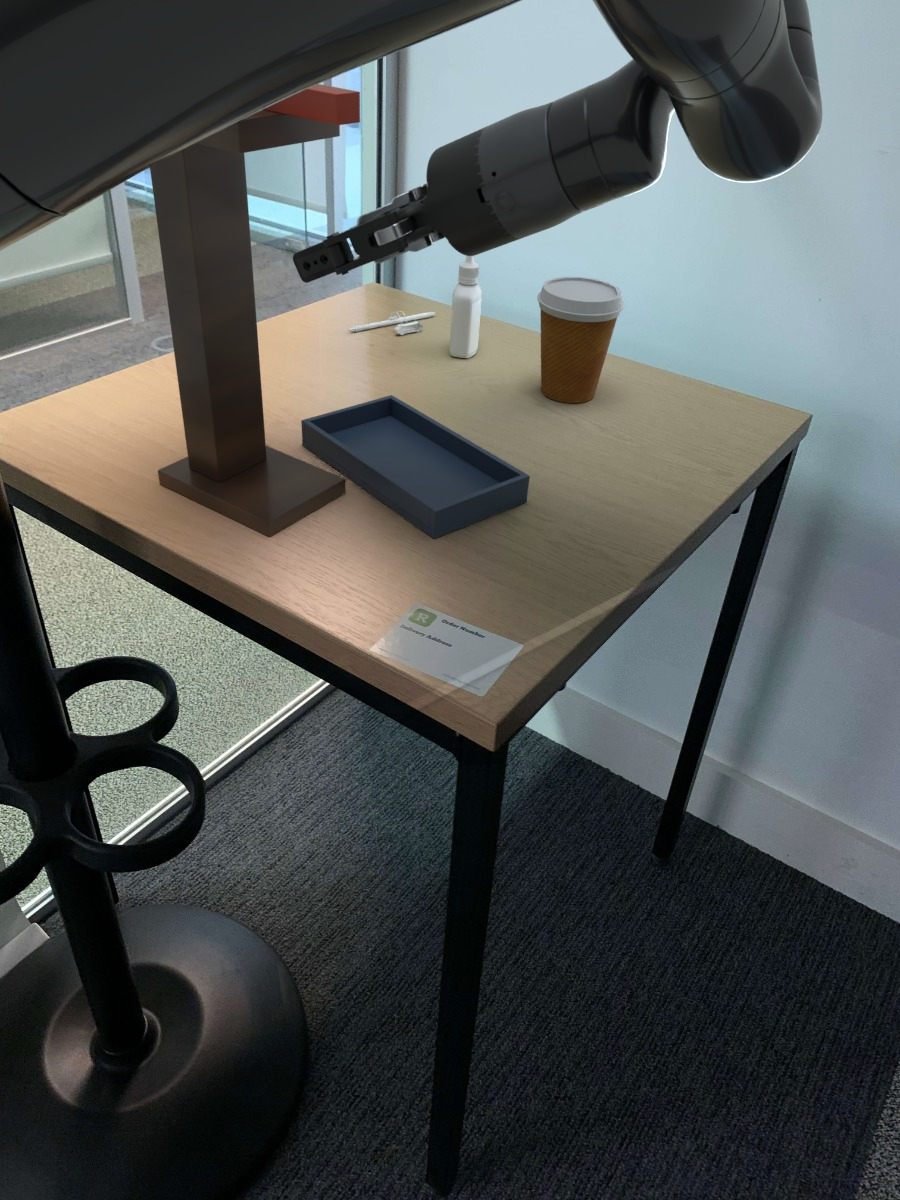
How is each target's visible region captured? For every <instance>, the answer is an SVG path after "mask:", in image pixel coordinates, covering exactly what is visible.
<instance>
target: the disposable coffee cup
mask: <svg viewBox="0 0 900 1200" xmlns="http://www.w3.org/2000/svg"><path fill="white" fill-rule="evenodd" d="M536 298H537V299H536V300H537V302H538V306H539V308H540V392H541V393H542V394H543V396H545V397H547V398H549V399H550V400H554V401H557V402H561V403H567V404H569V403H570V404H579V403H585V402H588V401H591V400H592V399H594V397H595V395H596V391H597V388H598V384H599V381H600V378H601V375H602V371H603V367H604V364H605V361H606V358H607V354H608V350H609V347H610V344H611V341H612V337H613V333H614V330H615V327H616V323H617V320H618V317H619V316H620V315H621V312H622V311H624V310H623V309H624V308H625V303H624V301H623V298H622V290H621V289H620V288H619V287H618V286H616V285H614V284H612V283H610V282H608V281H604V280H601V279H596V278H592V277H584V276H560V277H554V278H551V279H547V280H545V281H544V283H543V284H542V287H541V290H540V292H538V294H537V297H536Z"/></svg>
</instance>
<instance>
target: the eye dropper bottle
mask: <svg viewBox="0 0 900 1200" xmlns="http://www.w3.org/2000/svg"><path fill="white" fill-rule="evenodd" d="M479 277H480V265H479V264H478V263H476V262H475V259H474V256H466V255H465V260H464V261H463V262H460V263H459V264H458V277H457V281H458V283H457V284H456V285H455V287H454V289H453V290H452V291H453V292H452V299H451V300H452V301H451V303H452V304H451V316H450V331H449V333H450V334H449V354H450V356H452V357H454V358H461V359H469V358H472V357H473V356H474V355H476V353H477V352H478V348H479V339H480V327H481V326H480V324H481V312H482V311H481V310H482V299H483V298H482V297H483V289H482V287H481V286H480V284H479Z"/></svg>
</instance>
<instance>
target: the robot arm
mask: <svg viewBox="0 0 900 1200" xmlns="http://www.w3.org/2000/svg"><path fill="white" fill-rule="evenodd" d="M522 1H523V0H0V251H2V250H4V249H6V248H8V247H11V245H13V244H16V243H18V242H19V241H21V240H24V238H27V237H28V236H30V235H32V234H34V233H36V232H38V231H40V230H42V229H43V228H45V227H47V226H49V225H51V224H53V223H55V222H56V221H59V220H61V219H62V218H64V217H66V216H68V215H70V214H72V213H74V212H76V211H77V210H79V209H81V208H83V207H84V206H86V205H87V204H90V203H91V202H92V201H94V200H96V199H98V198H99V197H101V196H103V195H104V194H106V193H107V192H109V191H111V190H113V189H114V188H116V187H118V186H119V185H121V184H123V183H125V182H126V181H128V180H130V179H132V178H134V177H135V176H136V175H138V174H141V173H142V172H144V171H146V170H147V169H150V167H151V166H153V165H155V164H157V163H159V162H160V161H162V160H164V159H166V158H168V157H170V156H172V155H174V154H176V153H178V152H180V151H182V150H184V149H186V148H187V147H189V146H191V145H193V144H195V143H197V142H199V141H201V140H203V139H205V138H207V137H209V136H211V135H213V134H215V133H217V132H219V131H221V130H223V129H224V128H226V127H228V126H230V125H232V124H234V123H236V122H238V121H240V120H242V119H244V118H246V117H248V116H250V115H252V114H254V113H257V112H259V111H261V110H263V109H265V108H267V107H269V106H271V105H273V104H275V103H277V102H280V101H282V100H284V99H286V98H288V97H290V96H292V95H295V94H297V93H299V92H301V91H303V90H305V89H308V88H310V87H312V86H315V85H317V84H322V83H324V82H326V81H329V80H331V79H333V78H336V77H338V76H340V75H343V74H345V73H348V72H350V71H352V70H355V69H357V68H360V67H363V66H365V65H368V64H369V63H372V62H375V61H377V60H381V59H383V58H385V57H388V56H391V55H392V54H396V53H397V52H400V51H404V50H405V49H407V48H411V47H413V46H415V45H418V44H420V43H423V42H426V41H428V40H431V39H433V38H435V37H438V36H440V35H443V34H445V33H448V32H450V31H453V30H455V29H459V28H460V27H463V26H465V25H468V24H470V23H473V22H475V21H477V20H480V19H482V18H485V17H487V16H490V15H492V14H495V13H496V12H499V11H501V10H503V9H506V8H508V7H509V8H510V7H511V6H514V5H515V4H518V3H519V2H522ZM591 1H592V3H593V4H594V6H595V7H596V9H597V11H598V12H599V13H600V15H601V17H602V18H603V20H604V21H605V23H606V25H607V26H608V28H609V30H610V31H611V33H612V34H613V36H614V37H615V38H616V40H617V41H618V43H619V44H620V46H621V47H622V48H623V49H624V51H625V52H626V53H627V54H628V56H630V58H631V60H630V61H629V62H627V63H626V64H624V65H623V66H622V67H620V68H619V69H618V70H617V71H615V72H614V73H612V74H610V75H609V76H607V77H606V78H603V79H601V80H598V81H597V82H594V83H592V84H590V85H587V86H585V87H583V88H580V89H577V90H575V91H573V92H571V93H569V94H566V95H565V96H562V97H559V98H558V99H556V100H554V101H550V102H548V103H546V104H541V105H539V106H534V107H530V108H528V109H524V110H520V111H519V112H516V113H514V114H511V115H509V116H507V117H505V118H502V119H500V120H498V121H495V122H493V123H491V124H489V125H487V126H485V127H484V126H483V127H482V128H480V129H477V130H475V131H473V132H470V133H469V134H466V135H464V136H462V137H460V138H457V139H455V140H453V141H451V142H448V143H446V144H444V145H442V146H440V147H437V148H436V149H435V150H434V151H433V152H432V153H431V155H430V157H429V159H428V162H427V166H426V174H425V175H426V176H425V177H426V179H425V181H426V183H424V184H422V185H419V186H417V187H415V188H411V189H410V190H408V191H405V192H404V193H403V192H402V193H401V194H398V195H397V196H394V197H392V199H391V200H390V202H389V203H387V204H385V205H383V206H380V207H378V208H375V209H374V210H371V211H368V212H366V213H364V214H361V215H359V216H358V217H357V219H356V223H355V225H354V226H351V227H349V228H348V229H346V230H344V231H341V232H339V231H336V232H334V233H331V234H330V235H327V236H326V239H324V240H322V241H321V242H318V243H316V244H314V245H311V246H309V247H305V248H304V249H302V250H300V251H297V252H295V253H294V254H293V255H292V261H293V264H294V266H295V269H296V271H297V274H298V276H299V278H300V280H301V281H302V282H304V283H306V284H307V283H310V282H313V281H316V280H319V279H321V278H323V277H326V276H329V275H331V274H334V273H335V274H336V276H339V275H341V276H344V275H347V274H349V273H350V271H352V270H354V269H357V268H360V267H362V266H365V265H367V264H370V263H374V264H382V263H384V262H387V261H390V260H391V259H394V258H396V257H399V256H401V255H403V254H406V253H407V252H411V253H416V252H419V251H422V250H425V249H426V248H429V247H431V246H433V245H434V243H435V242H438V241H440V240H443V239H444V238H445V239H446V240H447V242H448V244H449V245H450V246H451V248H453V250H455V251H457V252H458V253H459V254H461V255H463V256H465V257H466V256H473V257H474V256H477V255H480V254H483V253H486V252H488V251H491V250H493V249H497V248H499V247H503V246H505V245H508V244H511V243H513V242H515V241H519V240H521V239H524V238H527V237H530V236H532V235H536V234H538V233H541V232H543V231H546V230H549V229H552V228H555V227H556V226H558V225H560V224H562V223H564V222H566V221H568V220H570V219H572V218H573V217H575V216H577V215H580V214H582V213H584V212H587V211H589V210H592V209H594V208H597V207H600V206H603V205H606V204H609V203H610V202H613V201H616V200H617V201H618V200H619V199H622V198H625V197H628V196H631V195H633V194H636V193H638V192H642V191H643V190H645V189H648V188H649V187H652V186H653V185H654V184H656V183H657V182H658V181H659V179H660V178H661V177H662V175H663V173H664V169H665V165H666V160H667V150H668V149H667V146H668V136H669V129H670V123H671V119H672V116H673V114H674V113H675V115H676V117H677V119H678V122H679V124H680V126H681V128H682V130H683V132H684V135H685V137H686V138H687V141H688V144H689V146H690V147H691V149H692V151H693V153H694V155H695V156H696V158H697V159H698V160H699V162H700V163H701V164H702V166H703V167H704V168H705V169H707V170H708V171H709V172H711V173H712V174H713V175H714V176H717V177H719V178H721V179H724V180H726V181H730V182H736V183H745V184H749V183H759V182H765V181H768V180H771V179H774V178H777V177H780V176H781V175H783V174H784V173H786V172H788V171H790V170H791V169H792V168H794V167H795V166H796V165H798V164H799V163H800V162H801V161H802V160H803V159H804V158H805V157H806V156H807V155H808V153H809V152H810V151H811V149H812V147H813V146H814V144H815V143H816V141H817V139H818V136H819V135H820V131H821V127H822V124H823V123H822V122H823V103H822V102H823V101H822V95H821V87H820V81H819V80H820V79H819V74H818V67H817V60H816V53H815V47H814V45H815V44H814V40H813V31H812V23H811V15H810V9H809V6H808V5H809V4H808V2H807V0H591ZM348 239H349V241H350V243H349V242H348ZM350 244H351V246H352V248H351V246H350ZM352 249H353V251H354V253H355V254H356V255H358V256H357V257H355V256H354V253H353V251H352Z"/></svg>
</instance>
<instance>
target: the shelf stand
mask: <svg viewBox="0 0 900 1200" xmlns="http://www.w3.org/2000/svg"><path fill="white" fill-rule="evenodd" d="M340 136H341V125H332V124H328V123H323V122H319V121H314V120H309V119H305V118H300V117H296V116H291V115H286V114H282V113H277V112H272V111H268V110H261V111H259V112H257V113H254V114H252V115H250V116H248V117H246V118H244V119H242V120H240V121H238V122H236V123H234V124H232V125H230V126H228V127H226V128H224V129H223V130H221V131H219V132H217V133H215V134H213V135H211V136H209V137H207V138H205V139H203V140H201V141H199V142H197V143H195V144H193V145H191V146H189V147H187V148H186V149H184V150H182V151H180V152H178V153H176V154H174V155H172V156H170V157H168V158H166V159H164V160H162V161H160V162H159V163H157V164H155V165H153V166H151V167H149V171H150V179H151V187H152V194H153V202H154V210H155V217H156V224H157V225H156V226H157V232H158V233H157V234H158V239H159V246H160V247H159V248H160V254H161V263H162V271H163V279H164V286H165V293H166V301H167V302H166V303H167V309H168V316H169V323H170V331H171V339H172V346H173V354H174V361H175V368H176V369H175V371H176V377H177V384H178V392H179V401H180V407H181V415H182V422H183V430H184V437H185V438H184V439H185V445H186V453H187V456H185V457H183V458H181V459H179V460H176V461H174V462H172V463H170V464H168V465H166V466H164V467H161V468H159V469H157V475H158V483H159V485H161V486H163V487H164V488H166V489H168V490H171V491H173V492H175V493H177V494H179V495H182V496H184V497H185V498H187V499H189V500H192V501H194V502H196V503H198V504H200V505H202V506H204V507H206V508H208V509H210V510H212V511H214V512H217V513H219V514H221V515H223V516H225V517H227V518H228V519H231V520H233V521H236V522H237V523H240V524H242V525H244V526H246V527H248V528H249V529H252V530H254V531H256V532H258V533H261V534H262V535H265V536H267V537H269V538H270V537H272V536H274V535H276V534H277V533H279V532H281V531H283V530H284V529H286V528H288V527H289V526H291V525H293V524H295V523H296V522H298V521H300V520H301V519H303V518H305V517H307V516H308V515H310V514H312V513H313V512H315V511H317V510H318V509H320V508H322V507H324V506H325V505H328V504H329V503H330V502H332V501H334V500H336V499H337V498H339V497H341V496H342V495H344V494H346V491H347V490H346V478H344V477H342V476H339V475H337V474H335V473H332V472H330V471H328V470H325V469H323V468H320V467H318V466H316V465H313V464H311V463H308V462H306V461H303V460H302V459H299V458H297V457H294V456H292V455H289V454H287V453H286V452H282V451H280V450H277V449H275V448H273V447H270V446H268V445H266V432H265V417H264V404H263V403H264V402H263V390H262V388H263V387H262V375H261V362H260V349H259V334H258V324H257V323H258V322H257V309H256V308H257V307H256V296H255V295H256V294H255V282H254V281H255V280H254V266H253V255H252V240H251V239H252V238H251V226H250V212H249V200H248V199H249V198H248V186H247V171H246V159H245V153H252V152H257V151H263V150H269V149H274V148H281V147H287V146H292V145H298V144H303V143H309V142H314V141H320V140H326V139H327V140H328V139H331V138H337V137H340Z"/></svg>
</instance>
